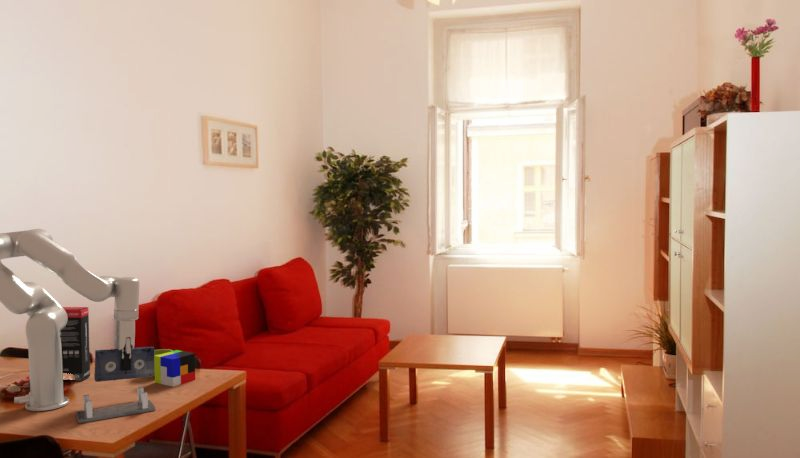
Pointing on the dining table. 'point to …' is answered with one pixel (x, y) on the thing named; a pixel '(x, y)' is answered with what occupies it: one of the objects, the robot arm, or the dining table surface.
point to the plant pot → (158, 352)
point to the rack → (114, 408)
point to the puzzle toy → (174, 368)
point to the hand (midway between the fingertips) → (124, 368)
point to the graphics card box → (76, 343)
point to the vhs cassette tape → (111, 359)
